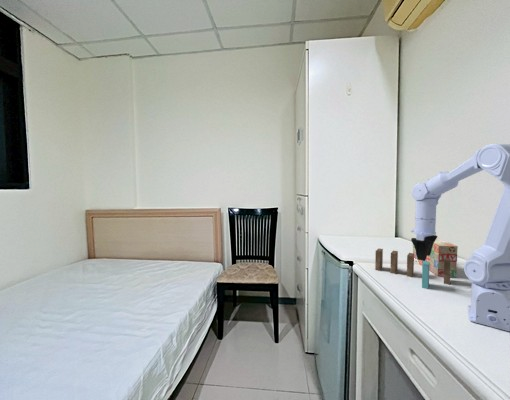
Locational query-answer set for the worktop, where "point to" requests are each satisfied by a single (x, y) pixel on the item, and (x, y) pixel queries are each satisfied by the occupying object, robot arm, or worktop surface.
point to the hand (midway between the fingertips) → (423, 257)
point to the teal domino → (425, 274)
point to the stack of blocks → (441, 257)
